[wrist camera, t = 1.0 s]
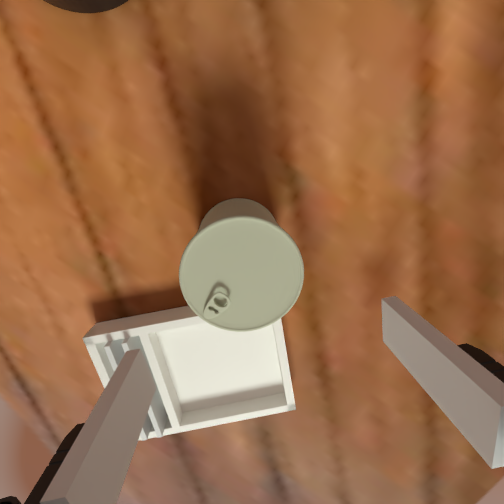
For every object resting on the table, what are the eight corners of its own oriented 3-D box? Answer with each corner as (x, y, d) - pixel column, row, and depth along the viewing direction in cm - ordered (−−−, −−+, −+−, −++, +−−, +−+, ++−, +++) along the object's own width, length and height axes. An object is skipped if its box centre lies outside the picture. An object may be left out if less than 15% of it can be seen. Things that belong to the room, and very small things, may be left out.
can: (181, 243, 30) (149, 288, 18) (234, 180, 28) (234, 186, 17) (243, 290, 32) (249, 357, 21) (295, 234, 30) (333, 272, 19)
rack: (96, 323, 32) (77, 343, 28) (274, 289, 32) (279, 305, 28) (136, 421, 37) (125, 450, 33) (291, 391, 37) (297, 416, 33)
